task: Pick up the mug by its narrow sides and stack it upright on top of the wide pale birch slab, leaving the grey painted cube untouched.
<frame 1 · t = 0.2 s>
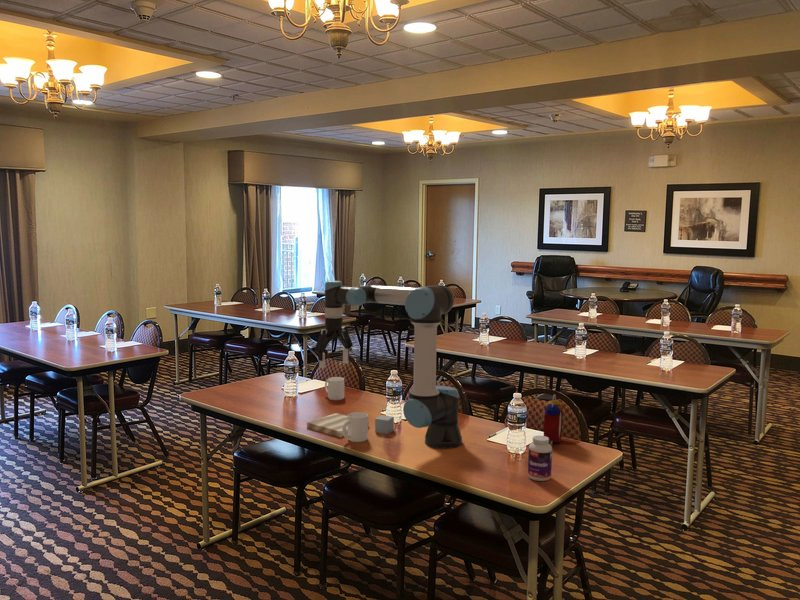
hand: (334, 365, 275), 27 cm above the table, fingers open, 13 cm apart
grey cube: (384, 431, 273), on the table
birch slab: (337, 428, 277), on the table
pill bottle: (539, 478, 222), on the table
mug: (354, 440, 261), on the table
cup: (333, 398, 326), on the table
red spray bottle: (549, 441, 261), on the table
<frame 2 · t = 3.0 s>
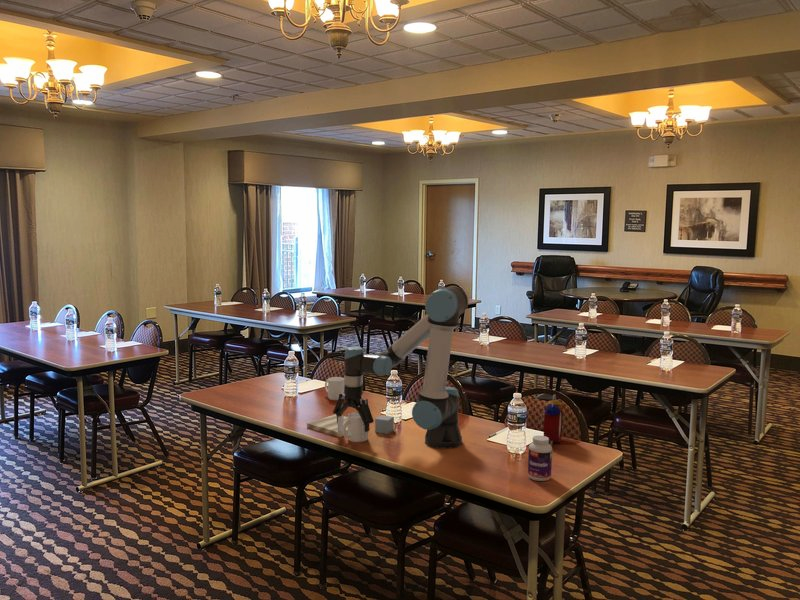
hand: (352, 435, 261), 2 cm above the table, fingers open, 13 cm apart
birch slab: (337, 429, 278), on the table, touching gripper
everything else where it was.
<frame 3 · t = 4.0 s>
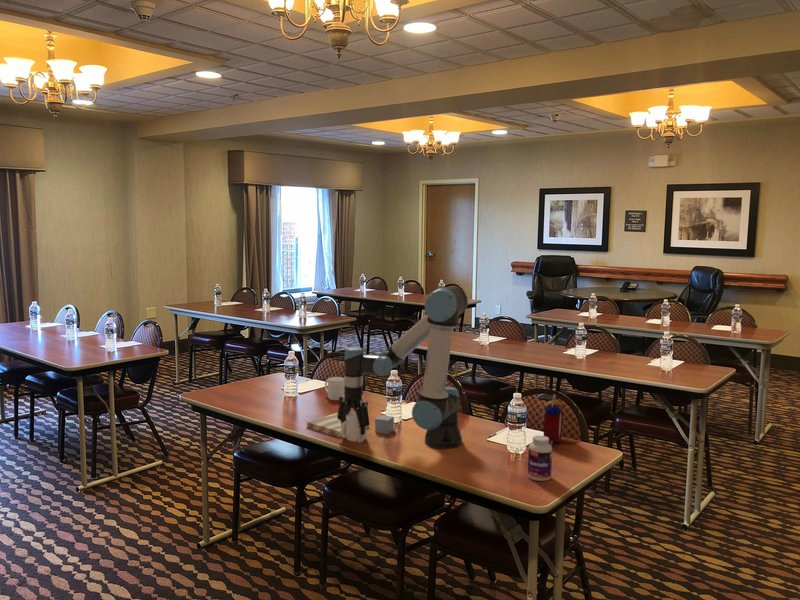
hand: (352, 439, 261), 0 cm above the table, fingers closed on mug, 8 cm apart
birch slab: (337, 428, 278), on the table
mug: (352, 440, 261), on the table, touching gripper
everything else where it was.
when the fingers open (4 cm above the table, at t = 9.5 s): mug drops 2 cm, resting on birch slab.
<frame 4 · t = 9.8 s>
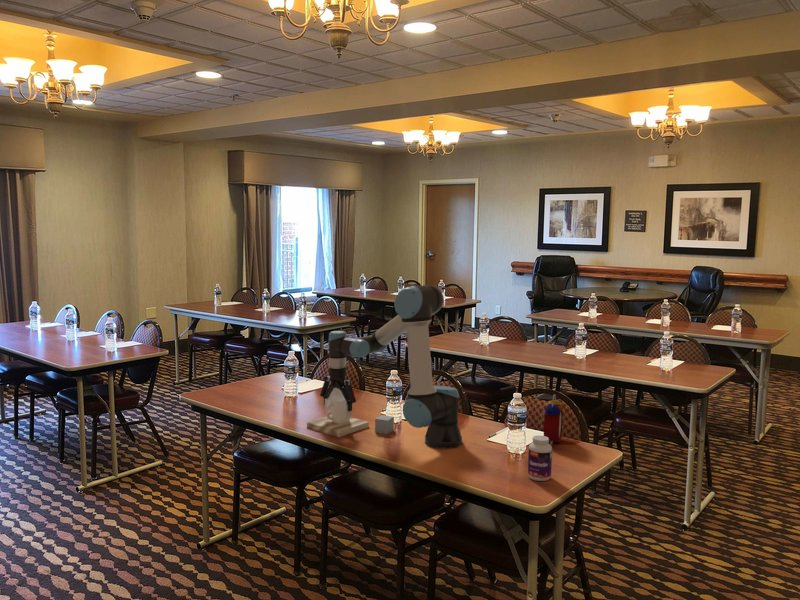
hand: (337, 415, 277), 5 cm above the table, fingers open, 12 cm apart
birch slab: (337, 428, 278), on the table, touching mug
mug: (337, 422, 277), point 2 cm above the table, touching birch slab
everything else where it was.
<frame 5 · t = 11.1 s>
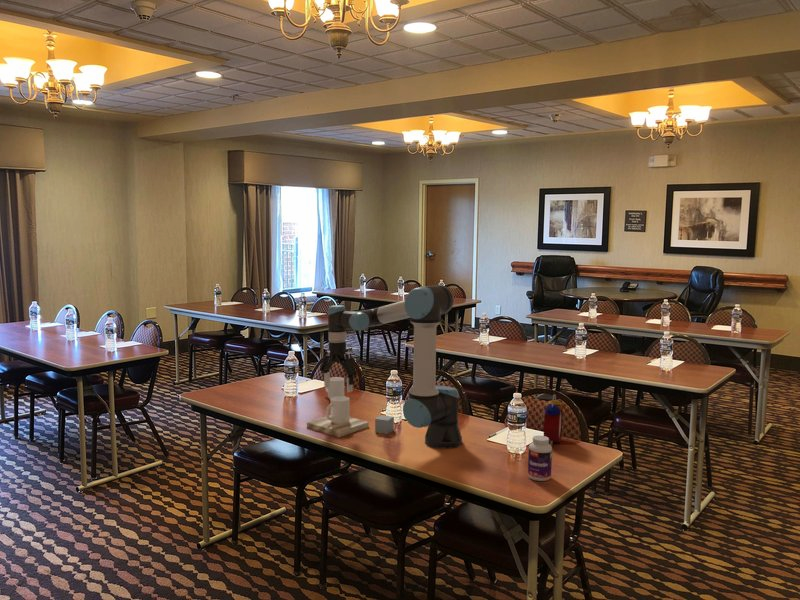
hand: (338, 389, 275), 17 cm above the table, fingers open, 13 cm apart
nothing on the table moved.
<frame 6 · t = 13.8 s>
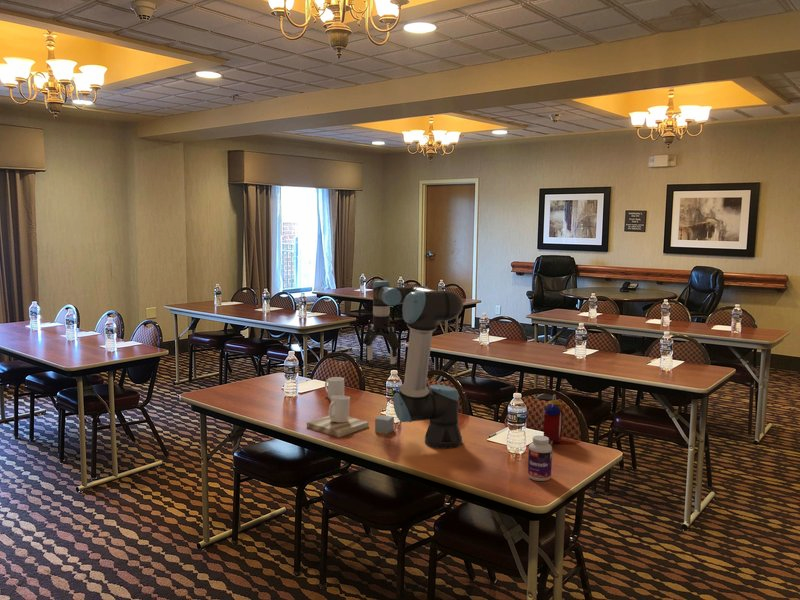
hand: (381, 361, 286), 27 cm above the table, fingers open, 13 cm apart
birch slab: (337, 428, 278), on the table
mug: (336, 421, 277), point 3 cm above the table
everything else where it was.
at the end: mug inside the target area on the birch slab (0.8 cm from its centre), point 3.3 cm above the birch slab's base; mug tilted 10°; the gripper is holding nothing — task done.
